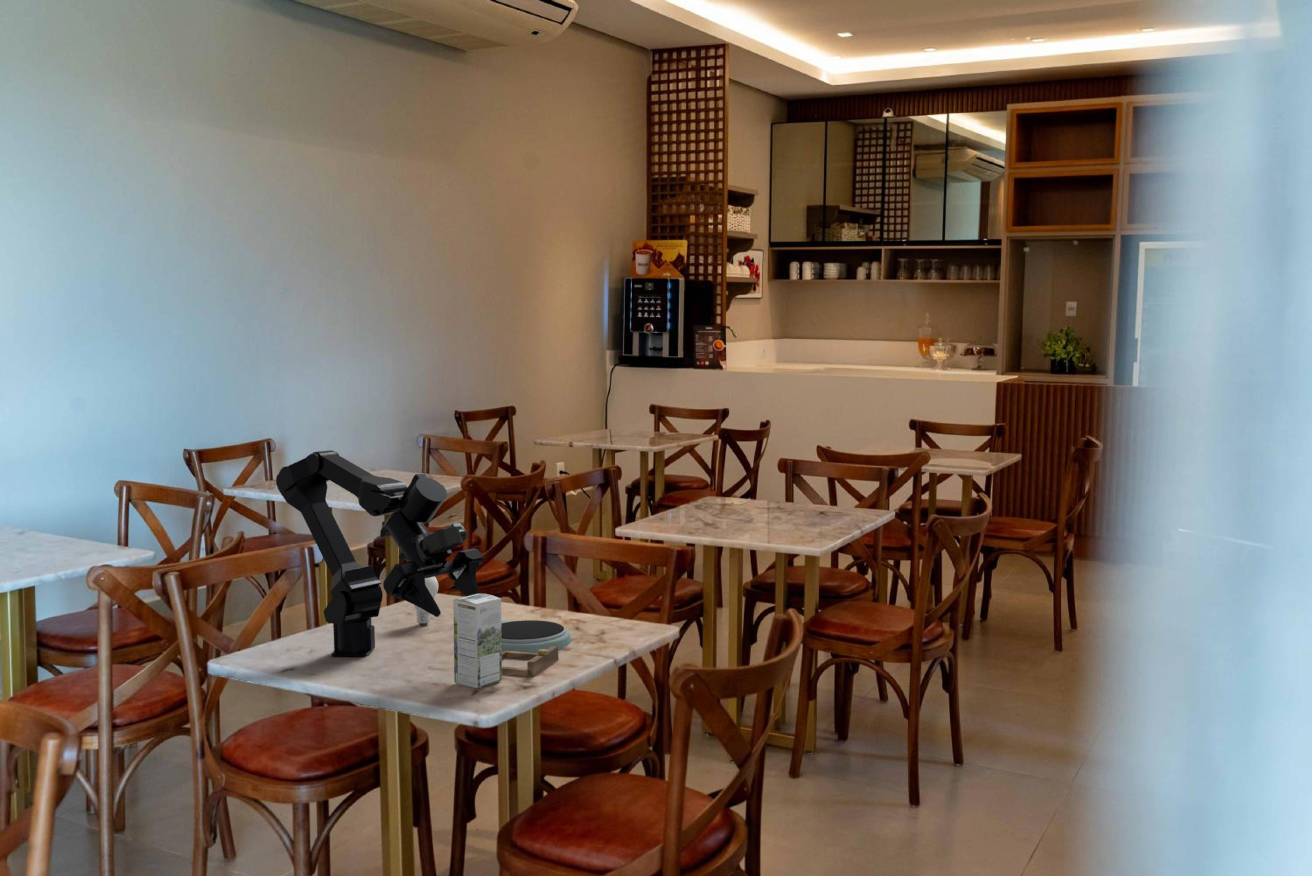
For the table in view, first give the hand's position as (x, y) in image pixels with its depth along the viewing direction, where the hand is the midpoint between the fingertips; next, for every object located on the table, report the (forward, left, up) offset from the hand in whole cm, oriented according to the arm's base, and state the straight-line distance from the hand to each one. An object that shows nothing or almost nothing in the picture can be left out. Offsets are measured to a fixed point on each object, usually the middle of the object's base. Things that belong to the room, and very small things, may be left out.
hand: (459, 610), depth 191 cm
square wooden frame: (+8, +8, -12) cm, 16 cm away
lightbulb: (-16, +38, -12) cm, 42 cm away
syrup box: (+3, -2, -12) cm, 13 cm away
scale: (+4, +26, -12) cm, 29 cm away
